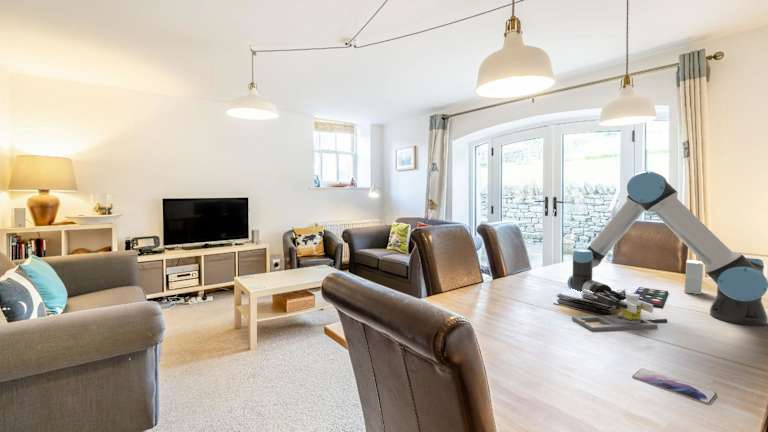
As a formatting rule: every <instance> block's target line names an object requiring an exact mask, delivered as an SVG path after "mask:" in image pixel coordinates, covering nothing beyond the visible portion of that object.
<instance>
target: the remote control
mask: <svg viewBox="0 0 768 432" xmlns="http://www.w3.org/2000/svg"><path fill="white" fill-rule="evenodd" d="M635 292H636V294H638V295H639V297H640V298H642V299H643V302H646V303H649V304H652V305H653V308H658V309H663V307H664V304H665V301H666V299H667V297H668V295H669V291H668V290H663V289H662V290H661V289H655V288H649V287H641V286H639V287H637V289H636V290H635Z"/></svg>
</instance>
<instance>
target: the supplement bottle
mask: <svg viewBox="0 0 768 432" xmlns="http://www.w3.org/2000/svg"><path fill="white" fill-rule="evenodd" d="M625 293H626V296H625V297H626V299H624V300H623V301H626V302H628V303H631V304H634V305H636V306H637V313H632V312H630V311H627V310H625V309H622V314H621V315H622V319H623V321H625V322H628V323H630V324H635V323H640V320H641V318H642V316H641V315H642V309H641V302H640V301H638V300H639V295H638V294H634V293H635V292H634V293H632V292H625Z"/></svg>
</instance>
